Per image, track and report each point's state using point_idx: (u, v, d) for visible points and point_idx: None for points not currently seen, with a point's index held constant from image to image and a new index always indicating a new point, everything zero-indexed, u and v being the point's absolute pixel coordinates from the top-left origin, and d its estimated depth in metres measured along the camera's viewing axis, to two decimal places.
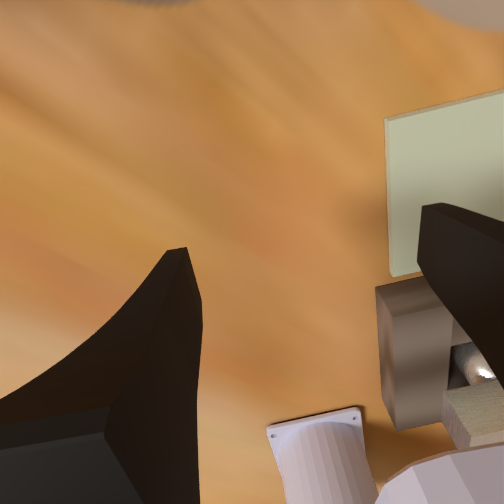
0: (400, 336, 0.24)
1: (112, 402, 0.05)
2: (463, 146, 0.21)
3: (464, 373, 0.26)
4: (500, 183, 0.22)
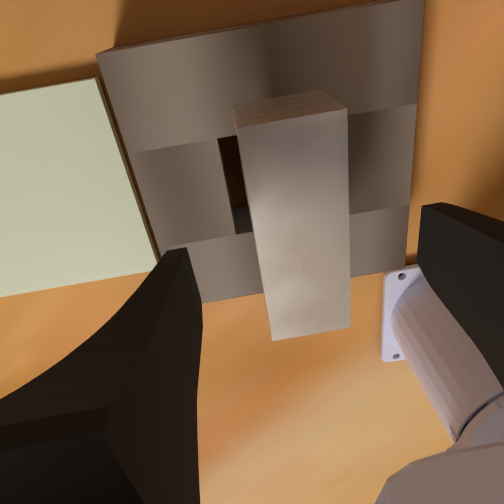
0: (209, 295, 0.20)
1: (112, 402, 0.05)
2: None
3: None
4: (20, 181, 0.19)
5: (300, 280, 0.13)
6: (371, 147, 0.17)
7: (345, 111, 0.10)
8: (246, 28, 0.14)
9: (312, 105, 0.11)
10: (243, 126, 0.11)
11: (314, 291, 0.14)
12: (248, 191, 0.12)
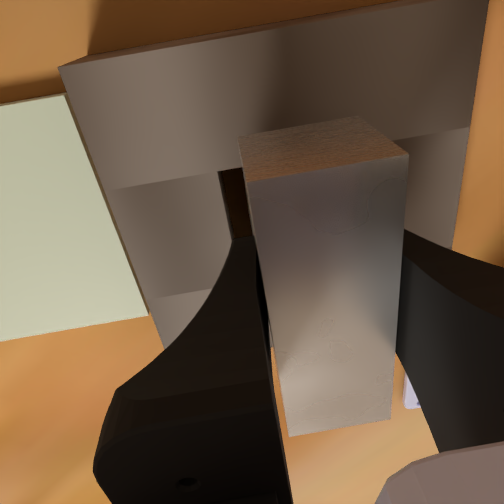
0: None
1: (267, 375, 0.05)
2: None
3: None
4: None
5: (328, 369, 0.10)
6: (410, 180, 0.14)
7: (406, 157, 0.07)
8: (255, 33, 0.11)
9: (353, 144, 0.08)
10: (256, 178, 0.07)
11: (346, 381, 0.10)
12: (261, 265, 0.08)
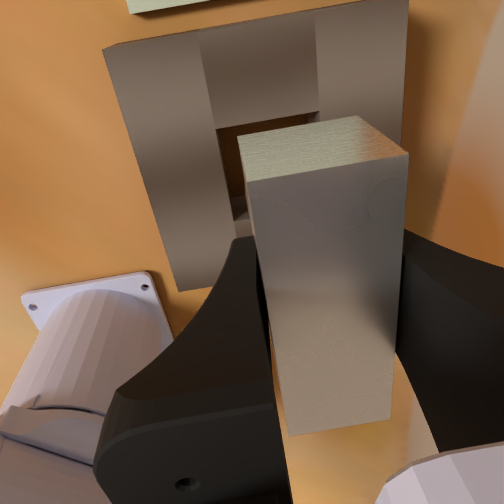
0: (127, 95, 0.16)
1: (267, 375, 0.05)
2: None
3: None
4: None
5: (328, 369, 0.10)
6: None
7: (406, 157, 0.07)
8: (399, 136, 0.18)
9: (353, 144, 0.08)
10: (256, 178, 0.07)
11: (346, 380, 0.10)
12: (262, 264, 0.08)
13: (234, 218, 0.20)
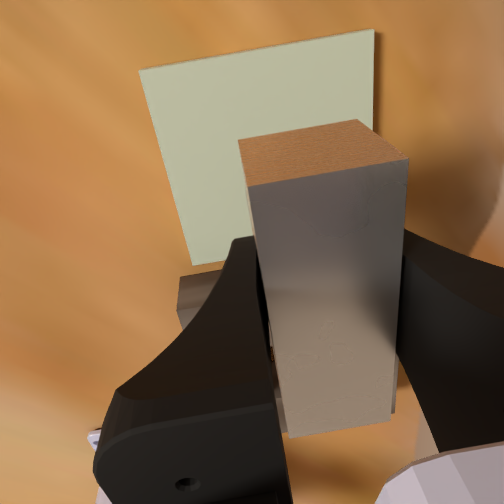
0: None
1: (267, 375, 0.05)
2: (240, 111, 0.18)
3: None
4: None
5: (328, 371, 0.10)
6: None
7: (405, 162, 0.07)
8: None
9: (353, 148, 0.08)
10: (256, 183, 0.07)
11: (347, 383, 0.10)
12: (262, 268, 0.08)
13: None
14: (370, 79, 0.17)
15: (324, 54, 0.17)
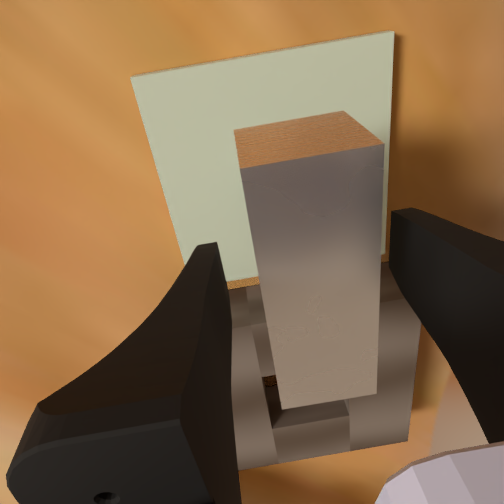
0: None
1: (182, 390, 0.05)
2: (243, 121, 0.16)
3: None
4: None
5: (317, 344, 0.11)
6: (325, 438, 0.24)
7: (382, 147, 0.08)
8: (414, 372, 0.21)
9: (336, 136, 0.09)
10: (248, 166, 0.08)
11: (334, 355, 0.11)
12: (254, 244, 0.09)
13: (272, 424, 0.23)
14: (388, 86, 0.16)
15: (338, 59, 0.15)
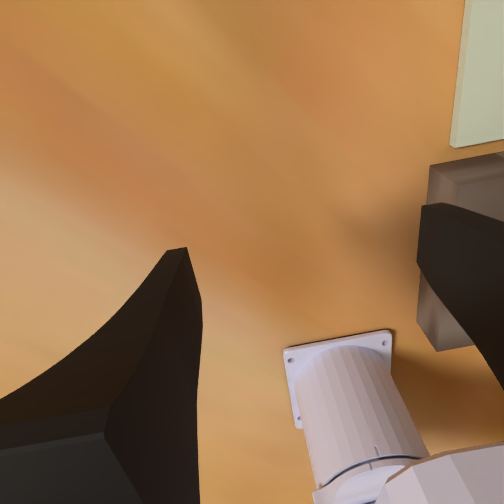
0: None
1: (112, 402, 0.05)
2: None
3: None
4: None
5: None
6: None
7: None
8: None
9: None
10: None
11: None
12: None
13: None
14: None
15: None
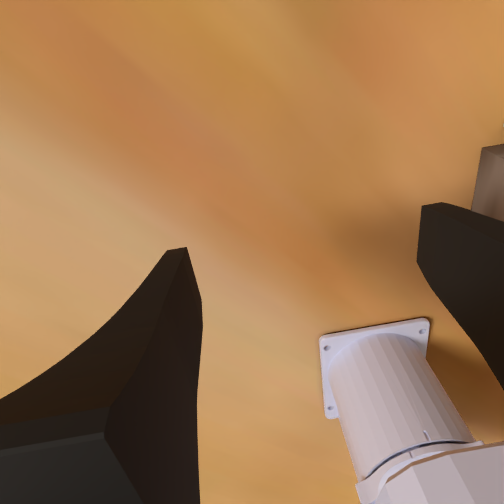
0: None
1: (112, 402, 0.05)
2: None
3: None
4: None
5: None
6: None
7: None
8: None
9: None
10: None
11: None
12: None
13: None
14: None
15: None
